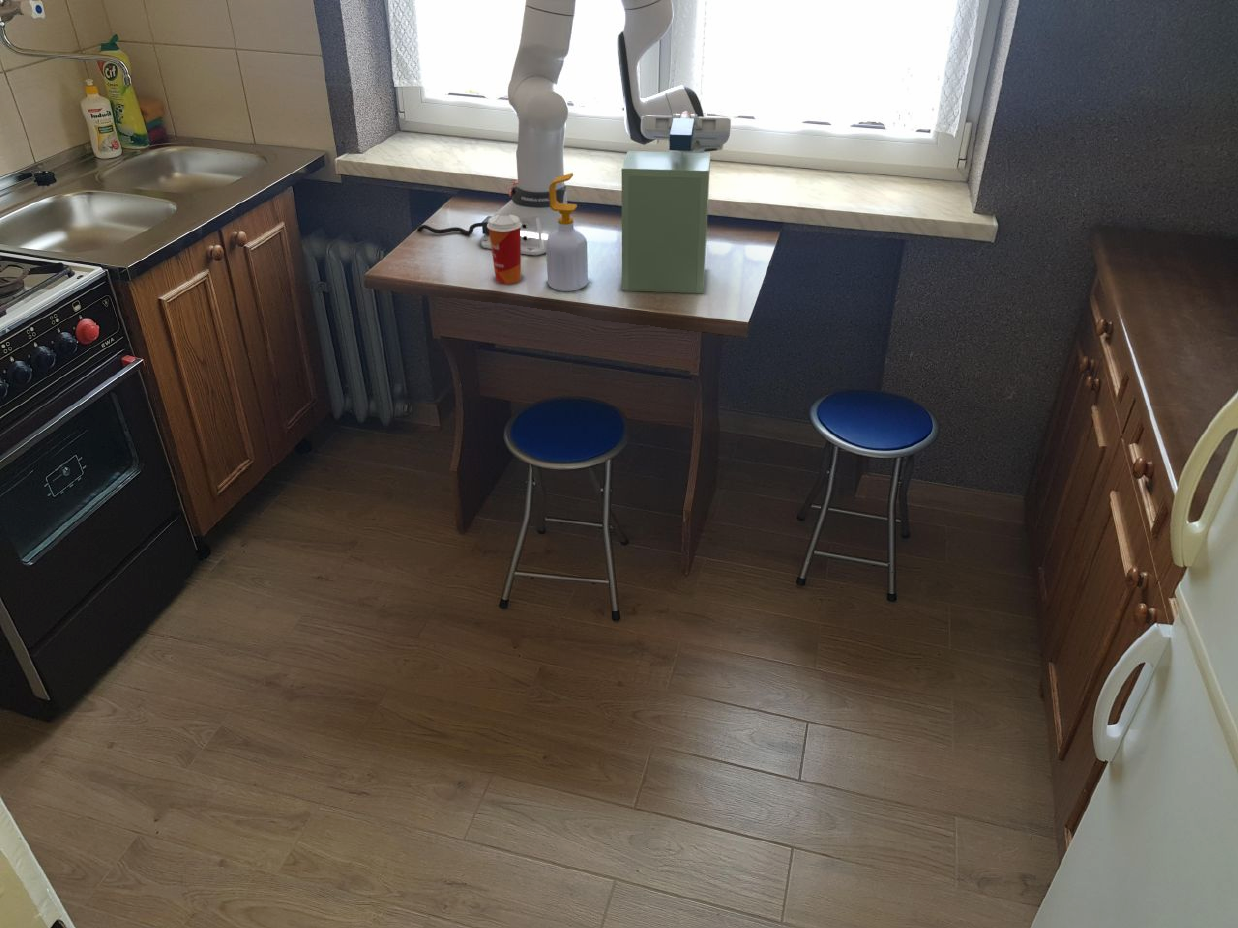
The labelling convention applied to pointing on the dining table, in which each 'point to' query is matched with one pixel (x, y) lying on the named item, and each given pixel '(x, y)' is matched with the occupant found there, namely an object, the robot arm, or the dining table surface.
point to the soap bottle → (566, 247)
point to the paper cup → (506, 247)
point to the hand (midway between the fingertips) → (685, 118)
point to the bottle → (682, 133)
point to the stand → (664, 221)
